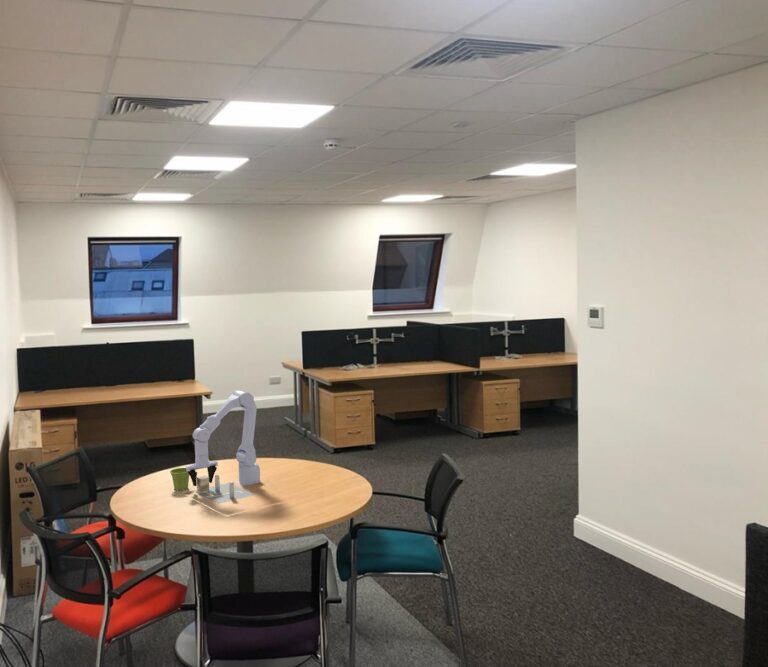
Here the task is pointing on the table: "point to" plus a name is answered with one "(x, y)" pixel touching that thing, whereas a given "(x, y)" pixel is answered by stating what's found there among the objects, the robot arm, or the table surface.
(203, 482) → the block
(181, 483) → the plant pot
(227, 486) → the board
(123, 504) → the table surface
